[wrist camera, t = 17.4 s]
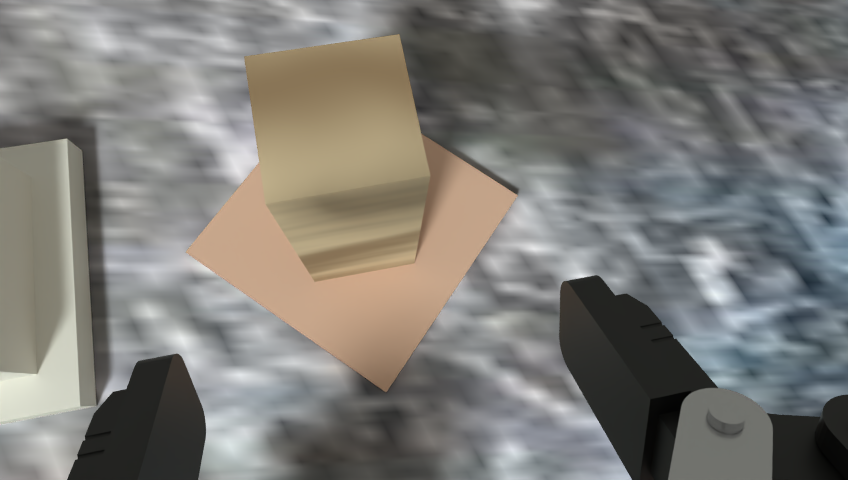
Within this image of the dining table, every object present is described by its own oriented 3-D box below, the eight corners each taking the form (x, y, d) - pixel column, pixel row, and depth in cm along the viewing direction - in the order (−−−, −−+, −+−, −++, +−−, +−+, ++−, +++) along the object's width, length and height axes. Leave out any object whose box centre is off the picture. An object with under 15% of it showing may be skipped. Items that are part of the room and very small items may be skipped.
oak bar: (414, 263, 30) (430, 176, 18) (314, 282, 29) (265, 203, 18) (395, 171, 31) (399, 34, 19) (299, 187, 30) (244, 56, 19)
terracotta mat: (386, 392, 28) (386, 392, 28) (188, 254, 30) (185, 251, 29) (515, 198, 31) (517, 195, 31) (331, 80, 33) (330, 75, 32)
